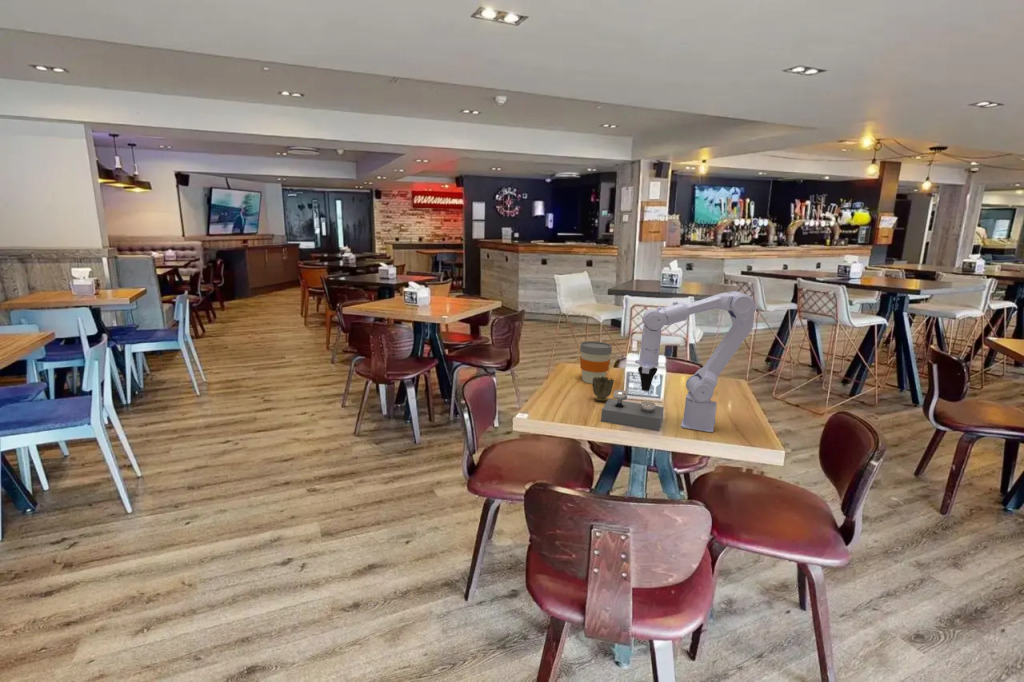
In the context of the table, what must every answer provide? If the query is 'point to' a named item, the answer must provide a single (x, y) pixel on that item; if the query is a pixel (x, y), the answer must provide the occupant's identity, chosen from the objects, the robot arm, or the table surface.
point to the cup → (602, 388)
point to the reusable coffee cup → (594, 360)
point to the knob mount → (632, 415)
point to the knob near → (648, 406)
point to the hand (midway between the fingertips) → (645, 390)
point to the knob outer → (620, 396)
